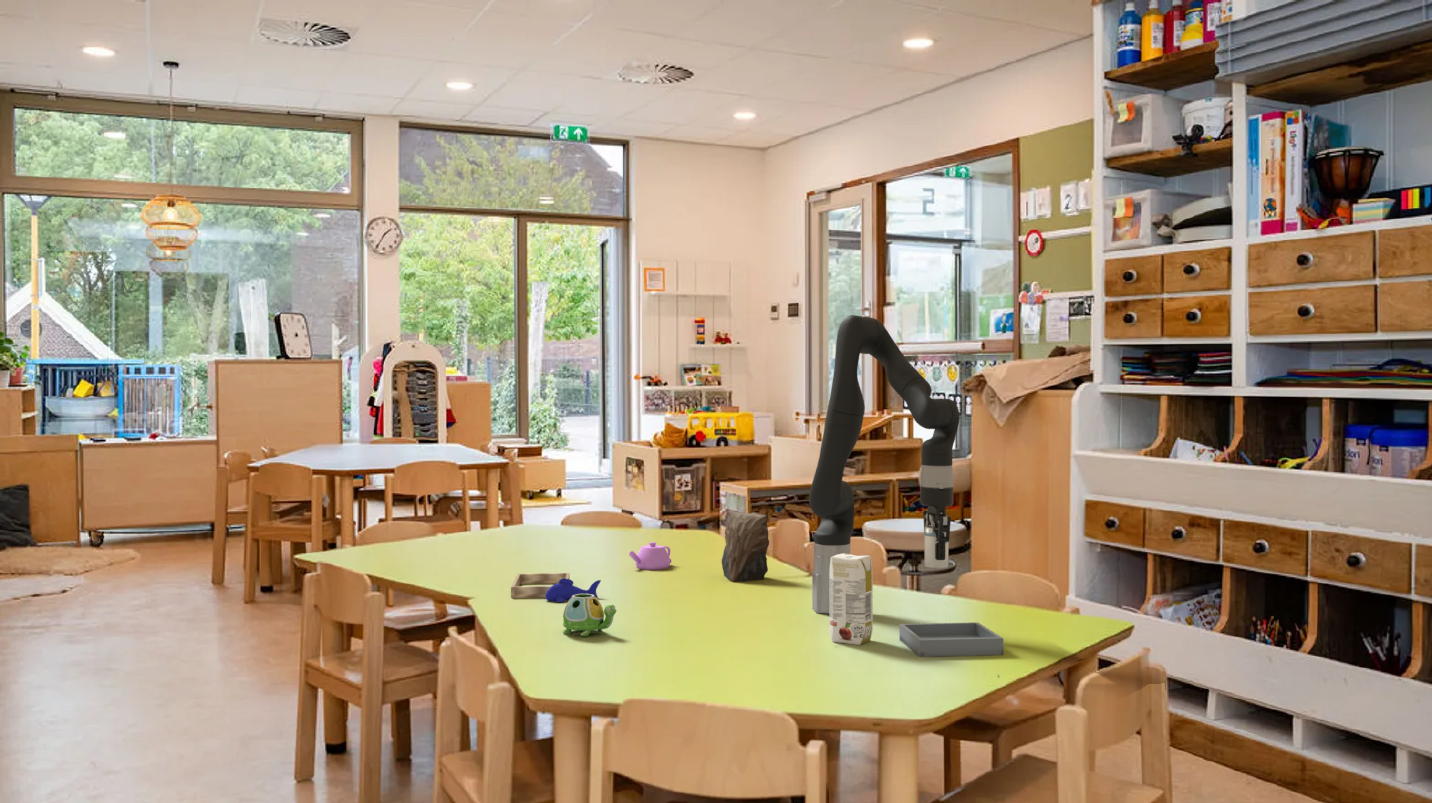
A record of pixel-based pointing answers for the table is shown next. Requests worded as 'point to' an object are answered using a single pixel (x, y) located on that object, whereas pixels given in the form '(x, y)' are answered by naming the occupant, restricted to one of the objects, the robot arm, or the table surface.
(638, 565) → the teapot
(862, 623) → the juice carton
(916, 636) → the tray
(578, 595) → the turtle holder
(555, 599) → the fish toy
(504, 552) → the table surface
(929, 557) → the cup
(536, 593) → the toy crate
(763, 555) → the bark-textured rock
